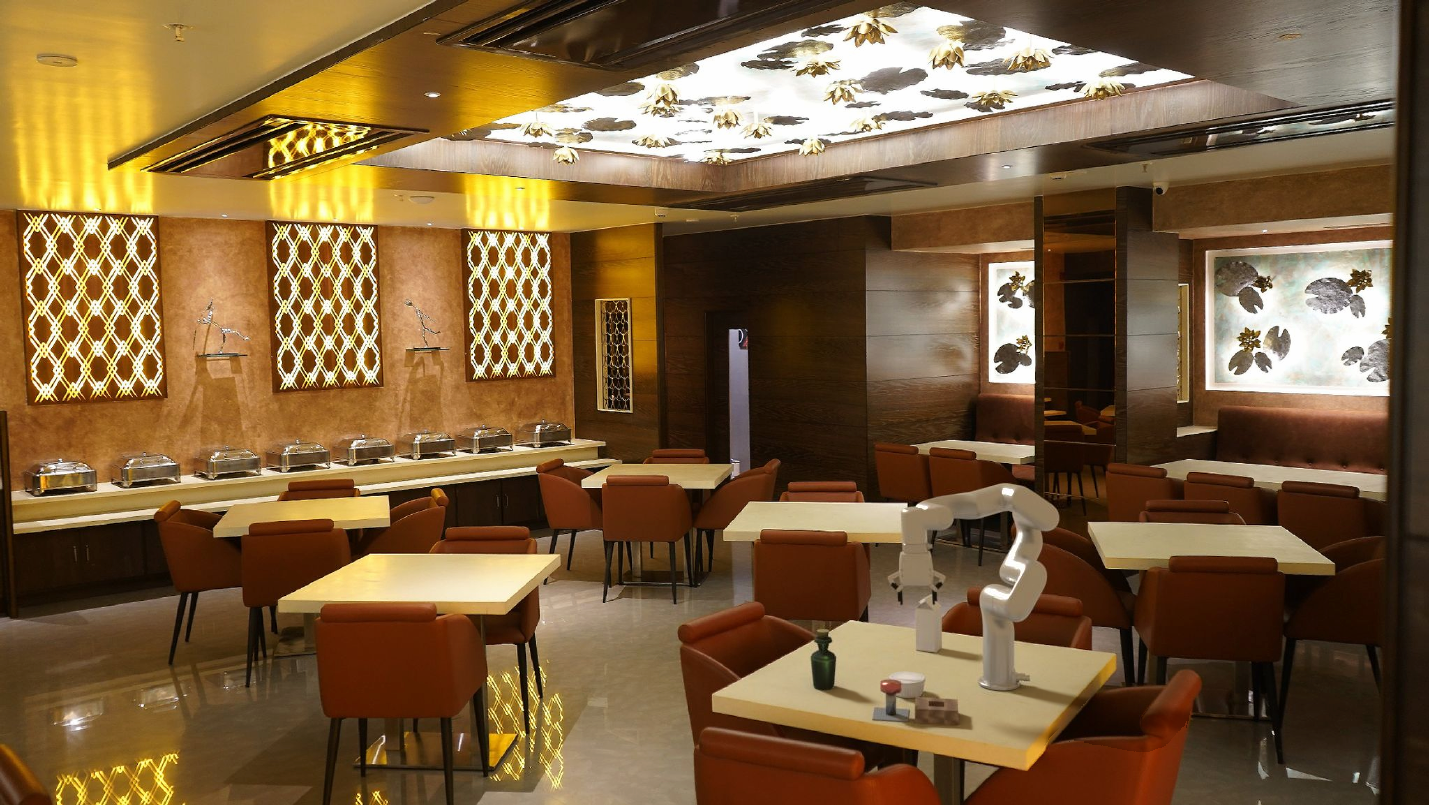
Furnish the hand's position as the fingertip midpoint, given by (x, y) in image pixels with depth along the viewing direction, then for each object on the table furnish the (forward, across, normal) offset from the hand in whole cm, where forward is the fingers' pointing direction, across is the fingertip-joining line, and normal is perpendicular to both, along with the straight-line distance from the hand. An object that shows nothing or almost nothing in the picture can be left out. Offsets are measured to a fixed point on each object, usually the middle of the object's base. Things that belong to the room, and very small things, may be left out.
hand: (917, 603), depth 311 cm
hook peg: (+28, +9, +17) cm, 34 cm away
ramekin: (+29, +4, -3) cm, 30 cm away
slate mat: (+28, +9, +17) cm, 34 cm away
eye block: (+29, -4, +18) cm, 34 cm away
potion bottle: (+28, +30, -6) cm, 42 cm away
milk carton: (+30, -3, -52) cm, 60 cm away
